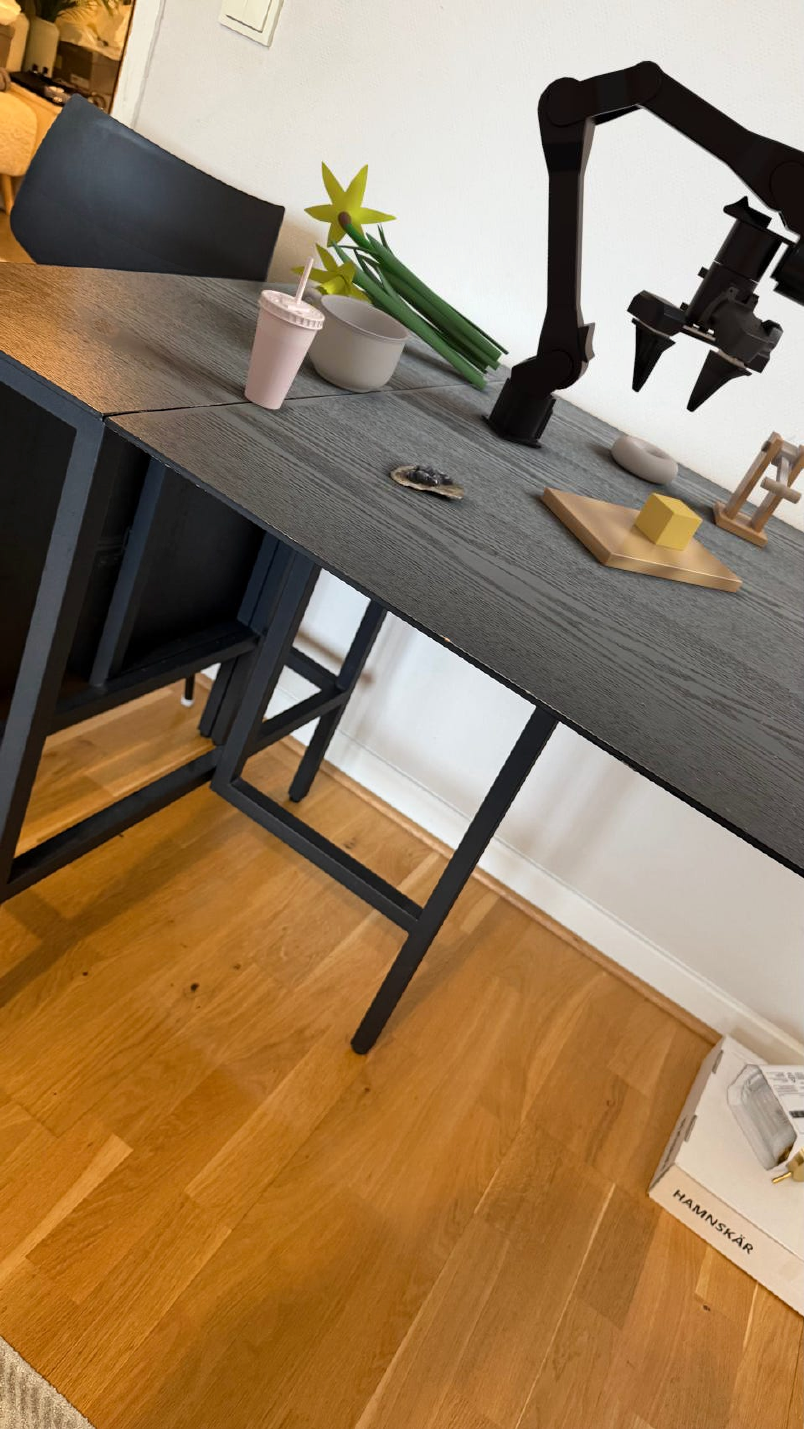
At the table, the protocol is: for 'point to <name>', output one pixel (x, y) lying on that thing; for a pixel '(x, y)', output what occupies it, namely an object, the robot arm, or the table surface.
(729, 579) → the cutting board
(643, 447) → the donut
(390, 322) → the teacup
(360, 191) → the daffodil flowers
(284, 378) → the smoothie
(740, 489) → the wooden dowel stand
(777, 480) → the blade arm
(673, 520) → the yellow cube
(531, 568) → the table surface
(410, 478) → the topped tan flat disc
